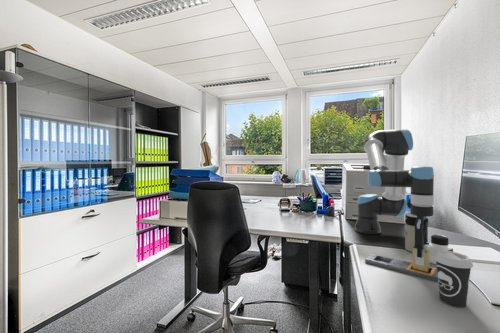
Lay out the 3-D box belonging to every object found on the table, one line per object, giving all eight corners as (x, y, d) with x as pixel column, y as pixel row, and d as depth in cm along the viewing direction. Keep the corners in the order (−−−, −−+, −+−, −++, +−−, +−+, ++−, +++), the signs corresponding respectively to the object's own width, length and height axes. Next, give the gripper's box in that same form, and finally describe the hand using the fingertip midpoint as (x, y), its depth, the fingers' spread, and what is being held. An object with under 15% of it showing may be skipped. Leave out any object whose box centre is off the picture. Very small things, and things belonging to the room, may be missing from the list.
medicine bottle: (444, 267, 103) (444, 239, 103) (426, 261, 110) (426, 234, 109) (453, 264, 107) (453, 236, 106) (434, 258, 113) (434, 232, 113)
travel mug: (425, 250, 123) (425, 214, 123) (422, 254, 117) (423, 217, 117) (407, 246, 129) (407, 212, 128) (403, 250, 123) (403, 215, 122)
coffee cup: (476, 314, 72) (476, 263, 72) (435, 304, 77) (435, 257, 77) (468, 298, 80) (469, 253, 80) (432, 290, 85) (432, 248, 85)
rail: (371, 256, 116) (371, 252, 116) (441, 273, 98) (441, 269, 98) (365, 262, 109) (365, 258, 109) (438, 282, 91) (438, 277, 91)
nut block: (415, 266, 102) (415, 246, 102) (429, 270, 99) (429, 249, 99) (412, 270, 99) (412, 249, 98) (427, 274, 95) (427, 253, 95)
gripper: (415, 201, 107) (414, 253, 108) (405, 207, 94) (405, 267, 95) (436, 203, 102) (436, 258, 102) (429, 209, 89) (428, 273, 89)
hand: (421, 262), depth 99 cm, fingers closed on nut block, 5 cm apart
